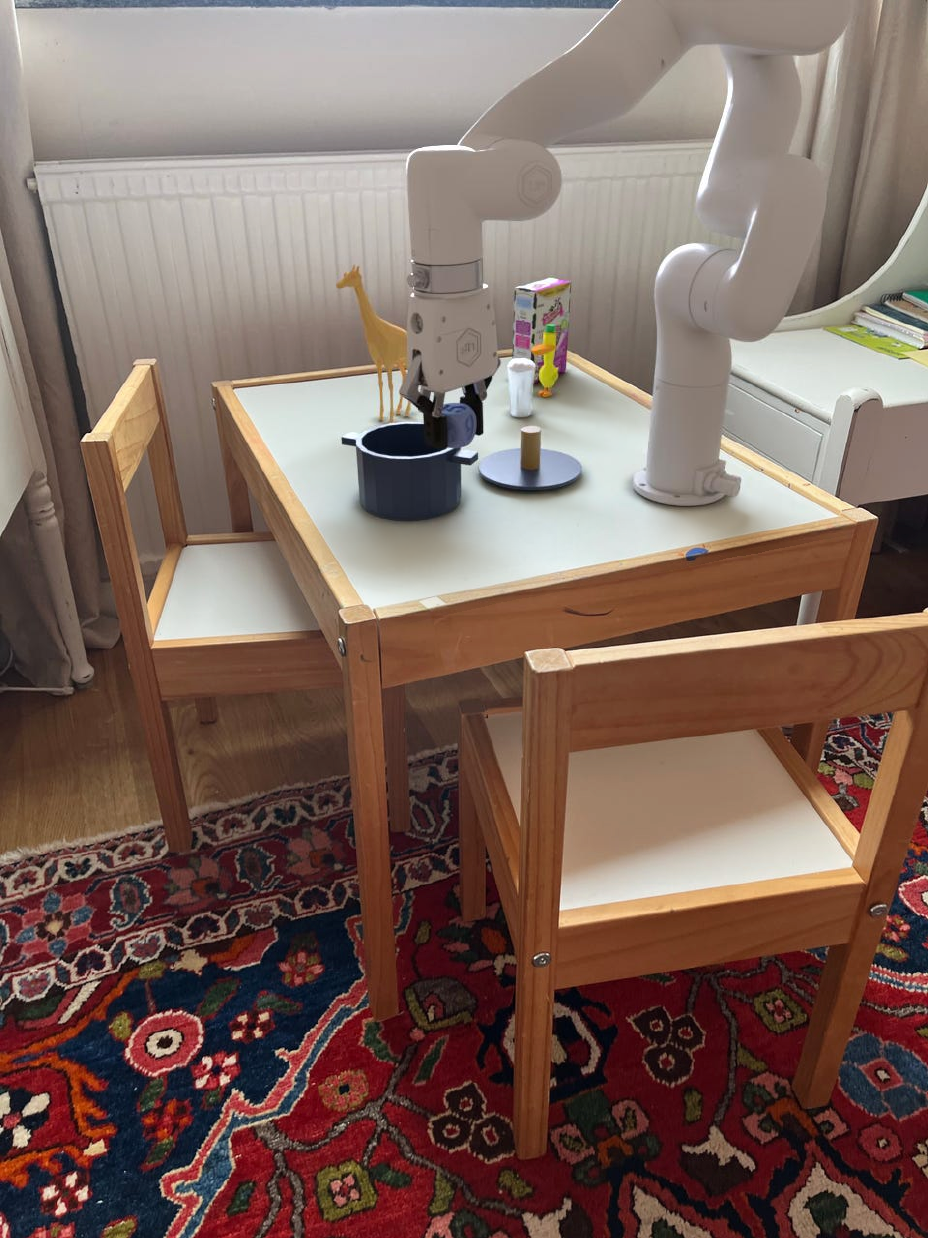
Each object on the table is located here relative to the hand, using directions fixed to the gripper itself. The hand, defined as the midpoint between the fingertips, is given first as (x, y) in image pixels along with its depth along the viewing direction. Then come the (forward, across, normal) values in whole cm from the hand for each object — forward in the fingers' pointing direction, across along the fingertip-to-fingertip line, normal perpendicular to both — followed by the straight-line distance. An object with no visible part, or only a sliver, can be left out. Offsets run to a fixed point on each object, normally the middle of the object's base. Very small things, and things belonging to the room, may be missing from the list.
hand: (454, 438), depth 112 cm
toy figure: (+15, +51, +30) cm, 61 cm away
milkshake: (+15, +41, +26) cm, 51 cm away
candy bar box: (+15, +59, +38) cm, 72 cm away
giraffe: (+14, +23, +40) cm, 49 cm away
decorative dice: (+1, 0, 0) cm, 1 cm away
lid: (+14, +23, +9) cm, 28 cm away
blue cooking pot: (+14, +5, +14) cm, 20 cm away
